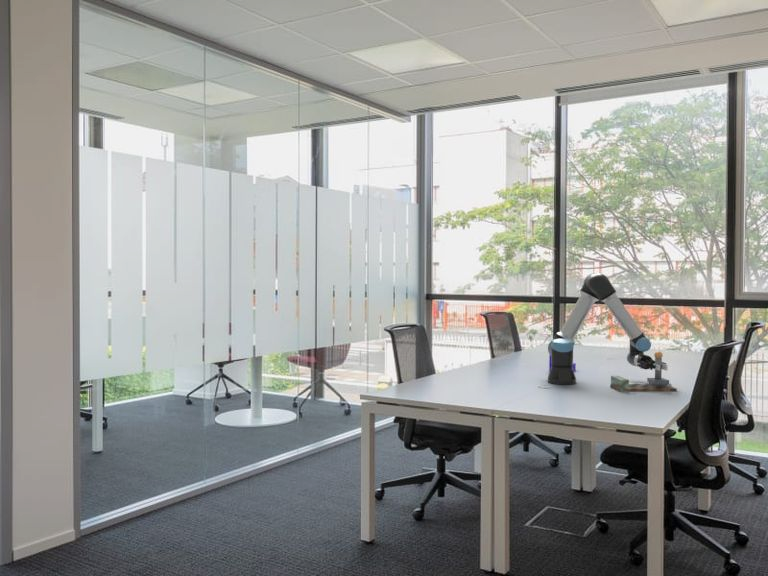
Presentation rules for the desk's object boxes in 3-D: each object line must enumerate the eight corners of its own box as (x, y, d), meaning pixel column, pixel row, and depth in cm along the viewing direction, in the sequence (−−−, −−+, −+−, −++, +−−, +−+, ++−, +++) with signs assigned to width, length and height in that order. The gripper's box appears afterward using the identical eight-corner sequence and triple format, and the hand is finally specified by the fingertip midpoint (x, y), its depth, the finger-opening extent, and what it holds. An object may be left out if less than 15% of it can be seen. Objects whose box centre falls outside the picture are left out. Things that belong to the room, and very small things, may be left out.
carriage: (653, 386, 351) (654, 352, 350) (647, 383, 359) (647, 350, 358) (669, 386, 351) (669, 352, 350) (662, 383, 359) (662, 350, 358)
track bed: (619, 391, 347) (619, 380, 347) (609, 387, 361) (609, 375, 361) (677, 391, 348) (677, 380, 348) (665, 387, 362) (665, 375, 362)
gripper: (658, 368, 373) (678, 375, 349) (628, 368, 372) (647, 375, 349) (658, 354, 373) (678, 360, 349) (629, 354, 372) (647, 360, 349)
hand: (663, 367), depth 349 cm, fingers closed on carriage, 3 cm apart
